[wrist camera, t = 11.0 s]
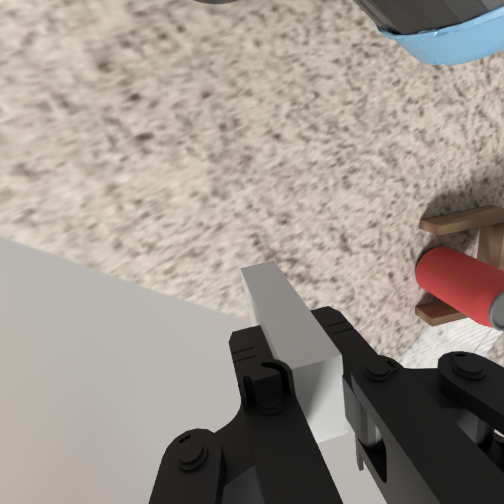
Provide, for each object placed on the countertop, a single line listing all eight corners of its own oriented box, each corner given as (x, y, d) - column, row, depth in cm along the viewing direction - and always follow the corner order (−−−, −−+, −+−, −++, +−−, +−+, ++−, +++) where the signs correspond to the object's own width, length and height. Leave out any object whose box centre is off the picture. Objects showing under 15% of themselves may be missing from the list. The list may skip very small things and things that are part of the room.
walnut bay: (419, 219, 43) (439, 226, 40) (490, 205, 45) (515, 210, 42) (415, 313, 48) (431, 326, 45) (479, 298, 50) (499, 309, 47)
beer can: (455, 239, 46) (543, 273, 34) (453, 281, 48) (536, 325, 37) (411, 252, 45) (488, 291, 34) (413, 293, 47) (484, 343, 36)
